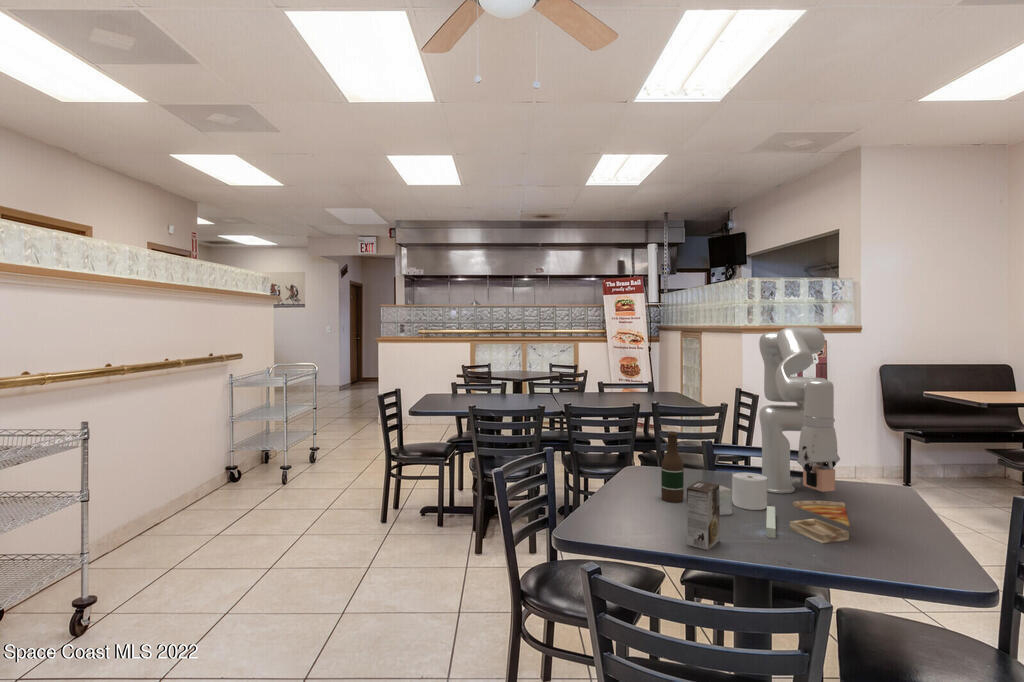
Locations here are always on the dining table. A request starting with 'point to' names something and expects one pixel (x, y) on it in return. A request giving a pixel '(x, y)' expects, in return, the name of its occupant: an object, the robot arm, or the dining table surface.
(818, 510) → the pizza slice
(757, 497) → the toilet tissue
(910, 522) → the dining table surface
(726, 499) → the post
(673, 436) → the beer bottle
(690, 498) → the coffee box
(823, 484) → the block
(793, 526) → the keyed cradle
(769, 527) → the pale green bar
